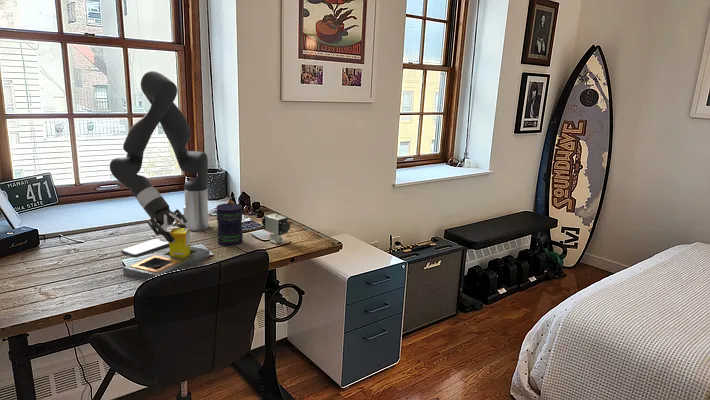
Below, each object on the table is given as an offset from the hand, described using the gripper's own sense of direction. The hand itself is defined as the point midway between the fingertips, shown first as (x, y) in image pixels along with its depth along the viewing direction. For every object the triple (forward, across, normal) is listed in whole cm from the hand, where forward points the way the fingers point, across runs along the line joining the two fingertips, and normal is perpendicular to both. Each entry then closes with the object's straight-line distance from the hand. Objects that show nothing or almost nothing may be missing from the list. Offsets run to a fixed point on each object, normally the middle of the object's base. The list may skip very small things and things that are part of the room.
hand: (180, 238), depth 171 cm
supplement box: (+6, 0, +6) cm, 8 cm away
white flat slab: (-7, +3, +19) cm, 21 cm away
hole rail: (+5, -6, +6) cm, 10 cm away
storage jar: (+9, +23, +3) cm, 25 cm away
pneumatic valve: (+20, +32, -9) cm, 39 cm away
